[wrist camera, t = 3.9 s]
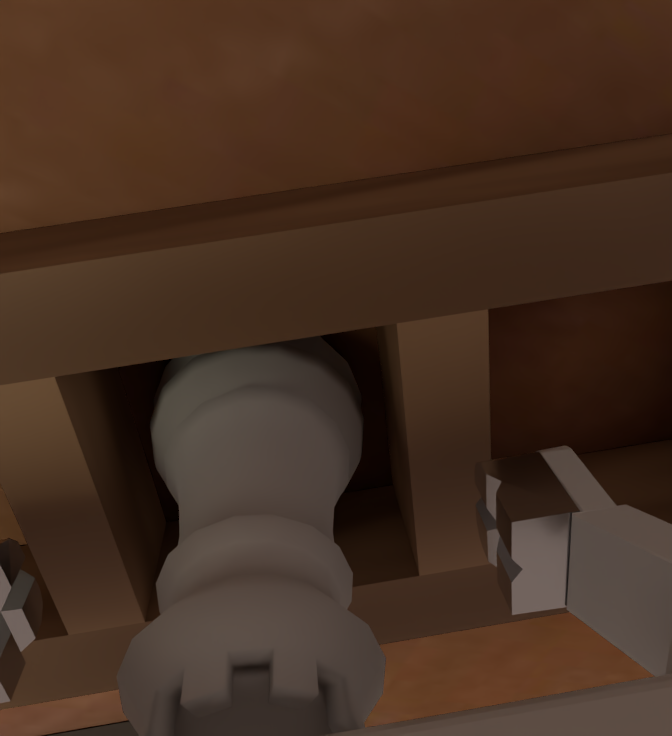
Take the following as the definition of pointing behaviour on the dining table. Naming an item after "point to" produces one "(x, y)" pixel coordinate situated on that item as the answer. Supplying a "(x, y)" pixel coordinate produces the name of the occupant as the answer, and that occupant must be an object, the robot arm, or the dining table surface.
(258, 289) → the three-compartment wooden tray
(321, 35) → the dining table surface
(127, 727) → the coaster
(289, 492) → the rook chess piece
